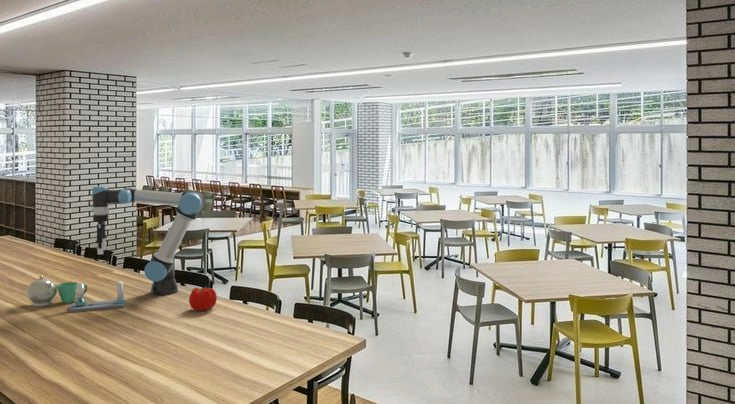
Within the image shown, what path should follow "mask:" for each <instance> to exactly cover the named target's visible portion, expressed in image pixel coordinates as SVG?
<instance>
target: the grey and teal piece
mask: <svg viewBox="0 0 735 404" xmlns="http://www.w3.org/2000/svg"><path fill="white" fill-rule="evenodd" d="M116 291H117V293H116V295H117V297H116V299H115V300H112V299H111V300H101V301H100V300H98V301H88V302H87V301H86V305H81V306H76V302H72V303H70V304H71V305H70V306H69V308H68V310H67V312H68V313H78V312H81V313H82V312H90V311H102V310H103V311H104V310H115V309H124V308H125V305H126V297H124V282H123V281H117V282H116Z"/></svg>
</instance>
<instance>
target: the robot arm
mask: <svg viewBox="0 0 735 404" xmlns="http://www.w3.org/2000/svg"><path fill="white" fill-rule="evenodd" d="M91 190H92V193H91V196H92V207H91V211H92V214H93V215H92V221H93V222H94V223H97V225H96V240H95V244H96V247H97V249H96V250H97V255H104V251H106V250H107V247H106V246H107V245H106V244H107V243H106V242H107V241H106V239H108V236H106V235H107V234H106V222H108V221H109V204H117V205H119V204H120V205H121V204H122V205H124V204H129V203H140V204H141V203H142V204H143V203H144V204H150V205H151V204H152V205H153V204H154V205H165V206H176V207H177V208H176V210H175V213H176V215H175V218H174V219H173V221H172V223H171V225H170V227H169V229H168V232H167V233H166V235H165V237H164V240H163V241H162V243H161V245H160V246H159V249H158V251H157V252H154V253H153V254H152V256H151V258H150V260H149V262H148V263H147V264H146V265H145V266H144V275H145V277H146V278H147V279H148V280H149V281H150V282H152V284H151V287H150V294H151V295H154V296H167V295H172V294H176V293H178V292H179V287H178V284H177V281H176V279H175V278H176V277H175V276H176V275H175V273H176V272H175V259H176V258H175V254H176V252H177V251H178V248H179V246H180V244H181V242H182V240H183V238H184V236H185V234H186V232H187V230H188V228H189V227H190V224H191V223H192V222H193V221H195V220H196V219H197V217H198V215H199V213H200V211H201V210H203V208H204V207H205V206H206V198H205V196H204V195H203V194H202V193H201V192H199V191H182V192H171V191H170V192H169V191H162V190H161V191H160V190H158V191H157V190H150V189H137V188H136V189H135V188H130V187H126V188H122V189H108V186H105V185H103V186H102V185H101V186H100V185H99V186H98V185H97V186H92V189H91Z"/></svg>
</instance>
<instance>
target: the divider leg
mask: <svg viewBox="0 0 735 404" xmlns="http://www.w3.org/2000/svg"><path fill="white" fill-rule="evenodd" d="M84 287H85V286H84V285H83V284H82V283H78V285H77V290H76V295H77V296H76V297H77V300H75V303H76V306H81V305H86V302H87V300H86V299H85V294H84V290H85V288H84Z"/></svg>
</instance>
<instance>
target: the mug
mask: <svg viewBox="0 0 735 404" xmlns="http://www.w3.org/2000/svg"><path fill="white" fill-rule="evenodd" d="M78 284H79V283H78V282H75V281H71V282H69V281H68V282H61V283H59V284H57V285H56V287H57V292H58V295H59V298H60V300H61V302H62V303H63V304H72V303H74V301H75V302H76V301H78V299H77V296H76V295H77V285H78ZM81 284H83V285H84V287H85V288H84V295H85V294H86V293H87V291H88V284H86V283H85V282H83V283H82V282H81Z"/></svg>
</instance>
